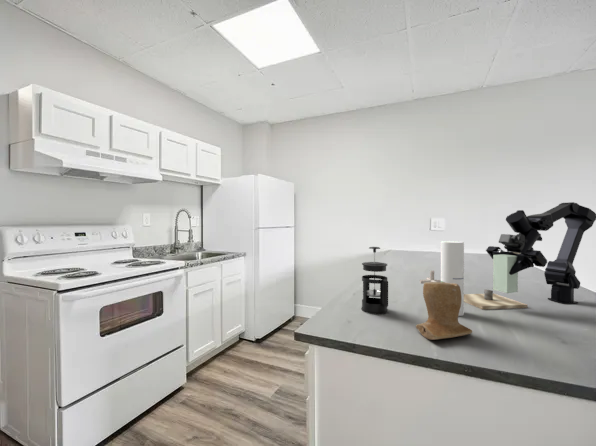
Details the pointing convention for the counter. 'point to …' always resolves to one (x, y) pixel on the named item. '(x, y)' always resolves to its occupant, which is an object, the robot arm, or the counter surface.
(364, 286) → the french press
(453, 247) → the cylindrical container
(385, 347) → the counter surface
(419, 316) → the counter surface
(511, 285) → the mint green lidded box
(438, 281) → the beige crossed rods
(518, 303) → the post base
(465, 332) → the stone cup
